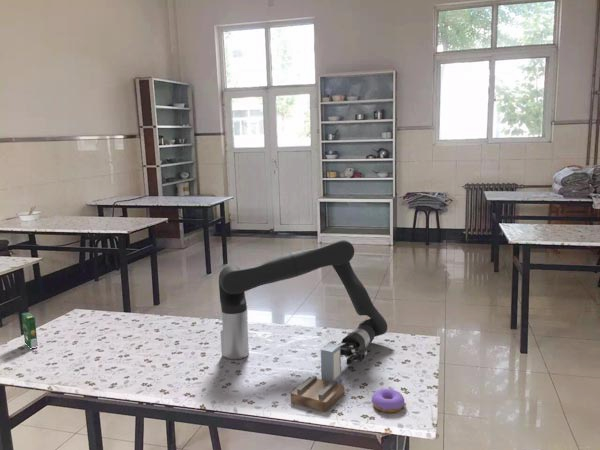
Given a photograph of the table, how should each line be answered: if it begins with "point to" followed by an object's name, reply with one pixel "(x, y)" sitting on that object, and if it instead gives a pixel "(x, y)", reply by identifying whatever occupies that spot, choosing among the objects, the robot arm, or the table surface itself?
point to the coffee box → (29, 329)
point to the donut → (388, 400)
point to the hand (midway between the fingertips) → (335, 359)
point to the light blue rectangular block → (331, 363)
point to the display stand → (317, 393)
